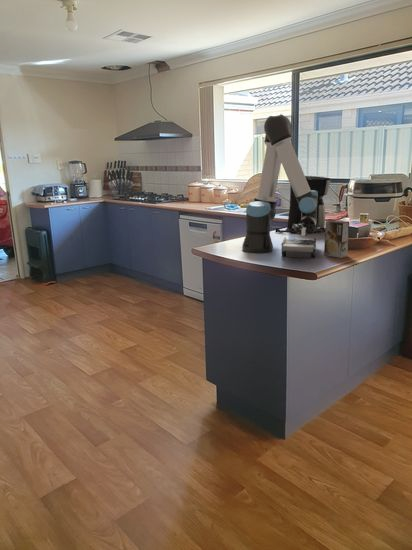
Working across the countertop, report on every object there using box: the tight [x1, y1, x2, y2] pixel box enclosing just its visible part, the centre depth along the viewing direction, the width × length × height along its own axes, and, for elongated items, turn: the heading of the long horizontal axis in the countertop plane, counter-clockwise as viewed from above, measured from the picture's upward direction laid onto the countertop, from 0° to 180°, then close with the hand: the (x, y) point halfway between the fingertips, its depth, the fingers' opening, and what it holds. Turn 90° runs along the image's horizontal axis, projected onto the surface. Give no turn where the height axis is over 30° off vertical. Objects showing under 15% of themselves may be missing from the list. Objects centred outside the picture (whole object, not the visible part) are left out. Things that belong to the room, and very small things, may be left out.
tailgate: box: [281, 244, 314, 252], centre depth 189 cm, size 13×2×13 cm
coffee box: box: [323, 219, 350, 259], centre depth 199 cm, size 9×6×16 cm
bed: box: [280, 237, 317, 259], centre depth 202 cm, size 15×15×7 cm
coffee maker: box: [275, 175, 331, 234], centre depth 263 cm, size 23×32×34 cm
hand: (303, 232), depth 187 cm, fingers closed
